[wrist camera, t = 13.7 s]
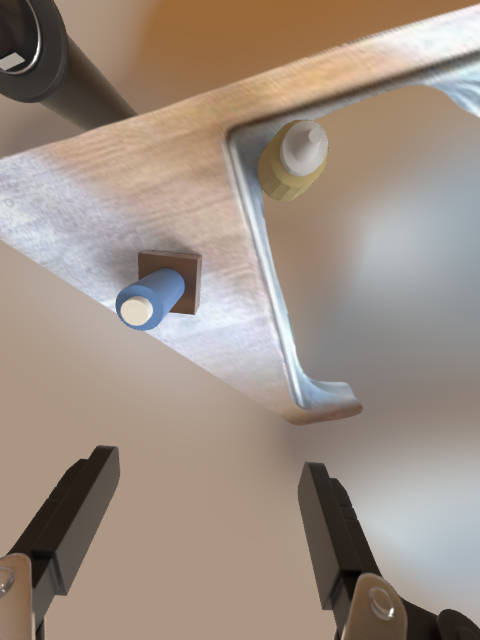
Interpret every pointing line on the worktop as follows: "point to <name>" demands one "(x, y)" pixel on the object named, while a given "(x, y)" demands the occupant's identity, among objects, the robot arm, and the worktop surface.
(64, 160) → the worktop surface
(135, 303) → the blue bottle
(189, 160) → the worktop surface
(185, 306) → the walnut block
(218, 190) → the worktop surface
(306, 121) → the squeeze bottle
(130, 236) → the worktop surface
